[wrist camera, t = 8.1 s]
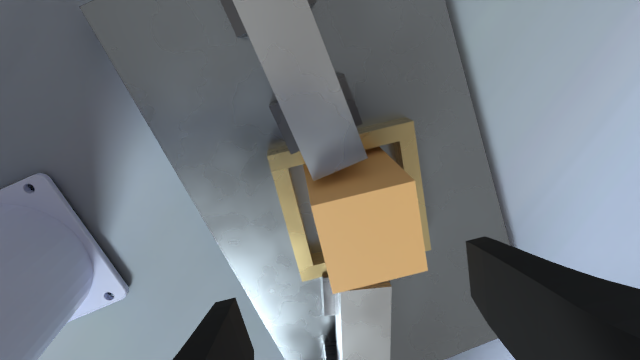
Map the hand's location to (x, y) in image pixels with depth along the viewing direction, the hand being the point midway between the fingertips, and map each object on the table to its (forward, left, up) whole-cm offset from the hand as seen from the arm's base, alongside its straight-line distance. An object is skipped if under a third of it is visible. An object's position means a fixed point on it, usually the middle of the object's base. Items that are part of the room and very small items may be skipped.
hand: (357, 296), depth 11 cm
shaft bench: (+1, -1, -10) cm, 10 cm away
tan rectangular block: (+1, 0, -9) cm, 9 cm away
